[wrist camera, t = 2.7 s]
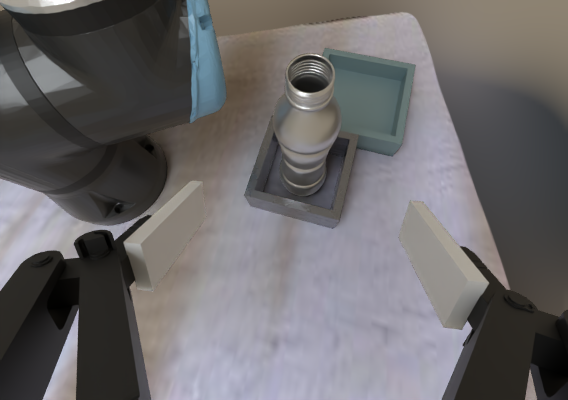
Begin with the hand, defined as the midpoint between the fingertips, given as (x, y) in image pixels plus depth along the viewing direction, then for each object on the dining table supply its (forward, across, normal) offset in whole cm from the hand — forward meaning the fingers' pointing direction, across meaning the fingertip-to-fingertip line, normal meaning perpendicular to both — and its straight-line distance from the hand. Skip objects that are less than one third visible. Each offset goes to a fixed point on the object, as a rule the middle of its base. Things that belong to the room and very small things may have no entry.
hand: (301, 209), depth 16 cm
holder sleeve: (+20, 0, -6) cm, 21 cm away
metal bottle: (+20, 0, -6) cm, 21 cm away
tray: (+29, +7, +3) cm, 30 cm away
